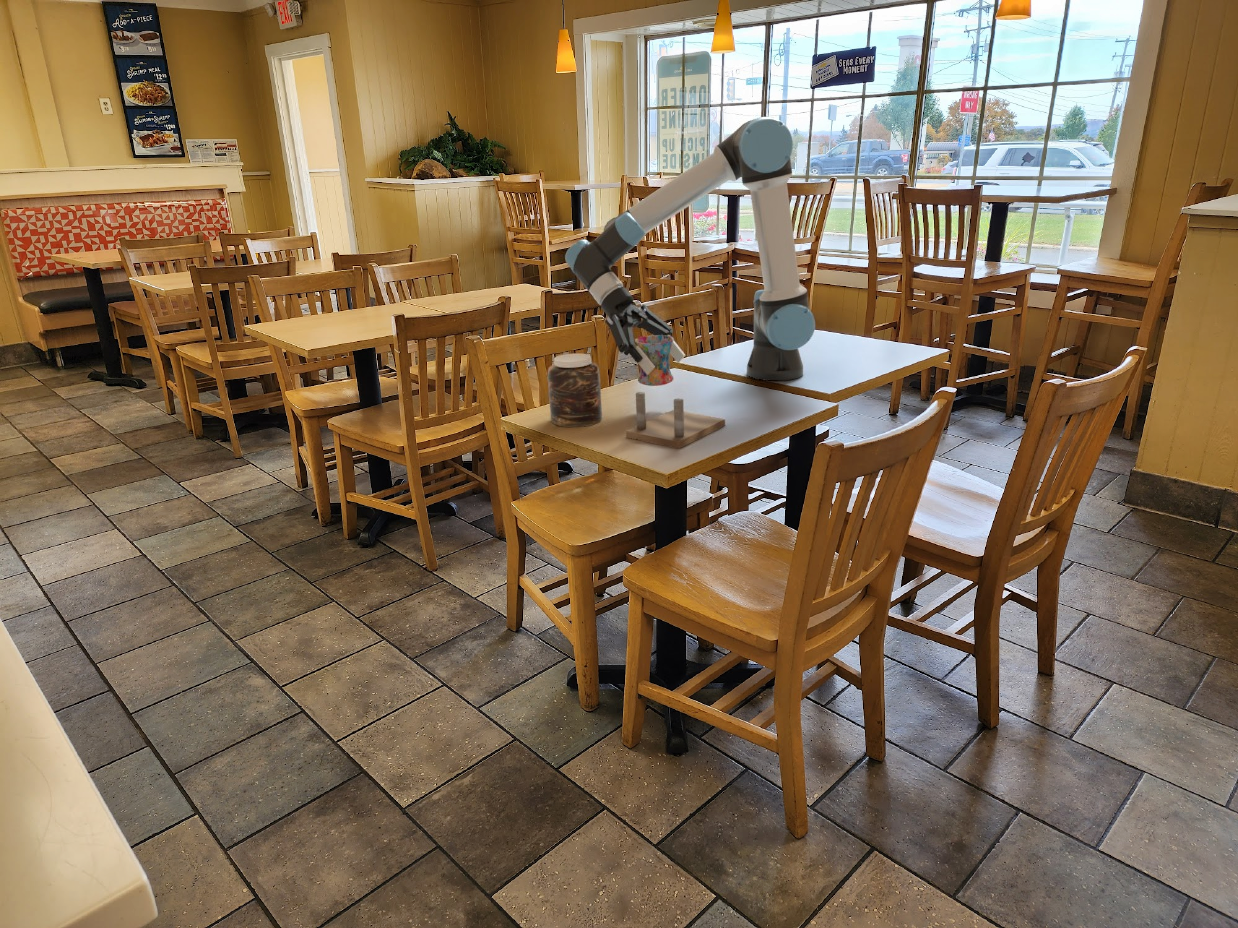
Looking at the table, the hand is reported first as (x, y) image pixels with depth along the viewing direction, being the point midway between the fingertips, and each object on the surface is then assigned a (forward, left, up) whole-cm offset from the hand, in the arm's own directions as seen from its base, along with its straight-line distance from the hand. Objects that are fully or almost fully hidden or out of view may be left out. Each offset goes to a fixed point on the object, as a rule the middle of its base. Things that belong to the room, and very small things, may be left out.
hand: (666, 364), depth 191 cm
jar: (+18, -13, -11) cm, 25 cm away
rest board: (+13, +12, -11) cm, 20 cm away
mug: (0, -3, -5) cm, 5 cm away
